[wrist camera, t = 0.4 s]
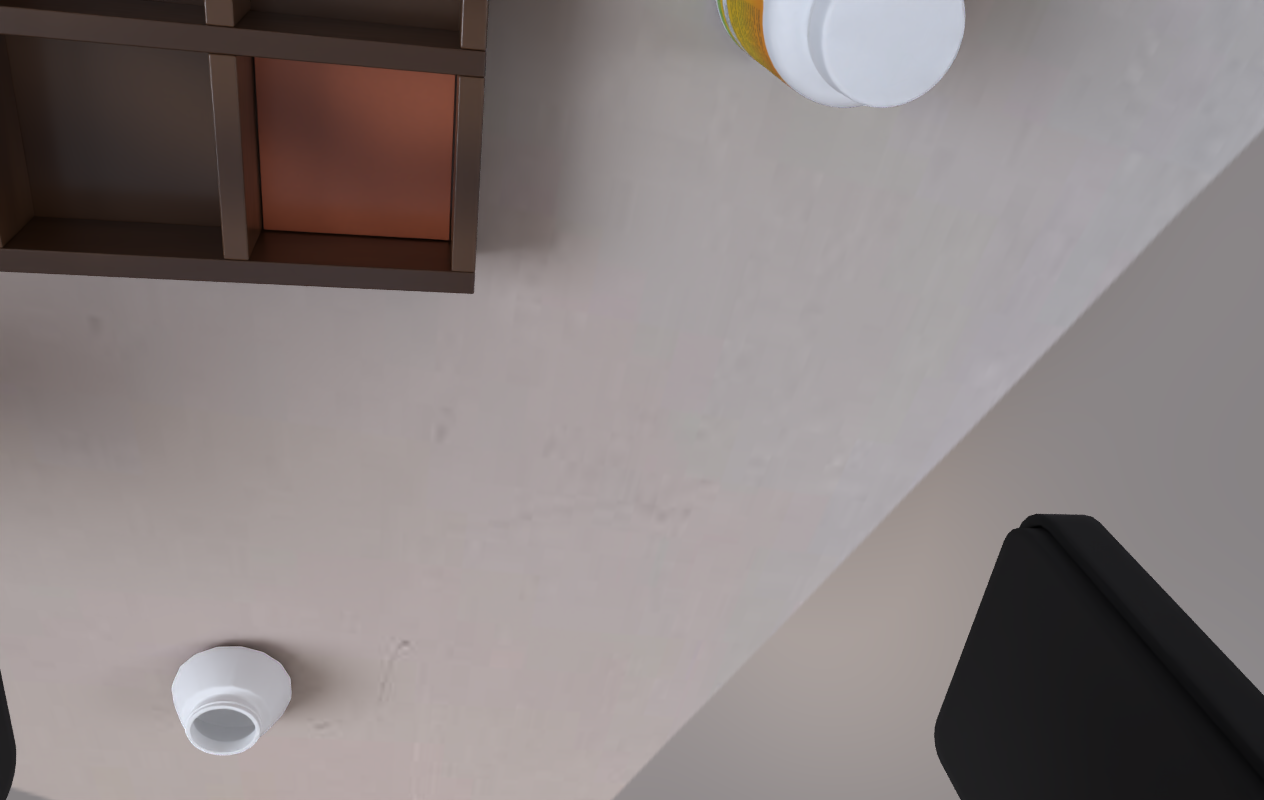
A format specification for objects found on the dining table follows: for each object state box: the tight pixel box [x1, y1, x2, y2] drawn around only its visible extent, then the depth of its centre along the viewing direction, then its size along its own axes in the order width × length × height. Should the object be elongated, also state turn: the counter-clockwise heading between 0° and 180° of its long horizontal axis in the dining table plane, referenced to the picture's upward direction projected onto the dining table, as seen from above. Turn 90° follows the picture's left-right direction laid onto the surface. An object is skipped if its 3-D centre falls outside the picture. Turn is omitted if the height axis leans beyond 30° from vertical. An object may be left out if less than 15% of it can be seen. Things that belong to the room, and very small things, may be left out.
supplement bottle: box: [716, 0, 965, 108], centre depth 31 cm, size 5×5×10 cm
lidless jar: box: [172, 646, 292, 755], centre depth 45 cm, size 5×3×5 cm
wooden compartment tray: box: [0, 0, 489, 294], centre depth 31 cm, size 15×15×4 cm
